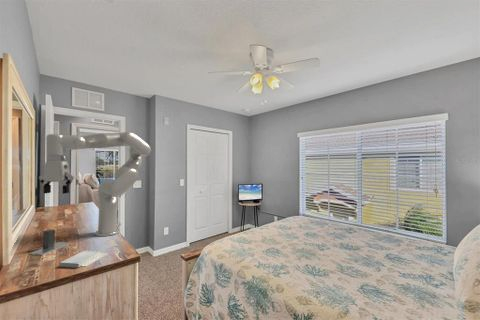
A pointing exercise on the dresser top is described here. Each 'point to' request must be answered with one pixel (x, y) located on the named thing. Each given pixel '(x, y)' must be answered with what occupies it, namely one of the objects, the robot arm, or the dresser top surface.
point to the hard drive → (79, 259)
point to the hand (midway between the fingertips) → (56, 193)
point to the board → (94, 259)
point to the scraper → (49, 243)
